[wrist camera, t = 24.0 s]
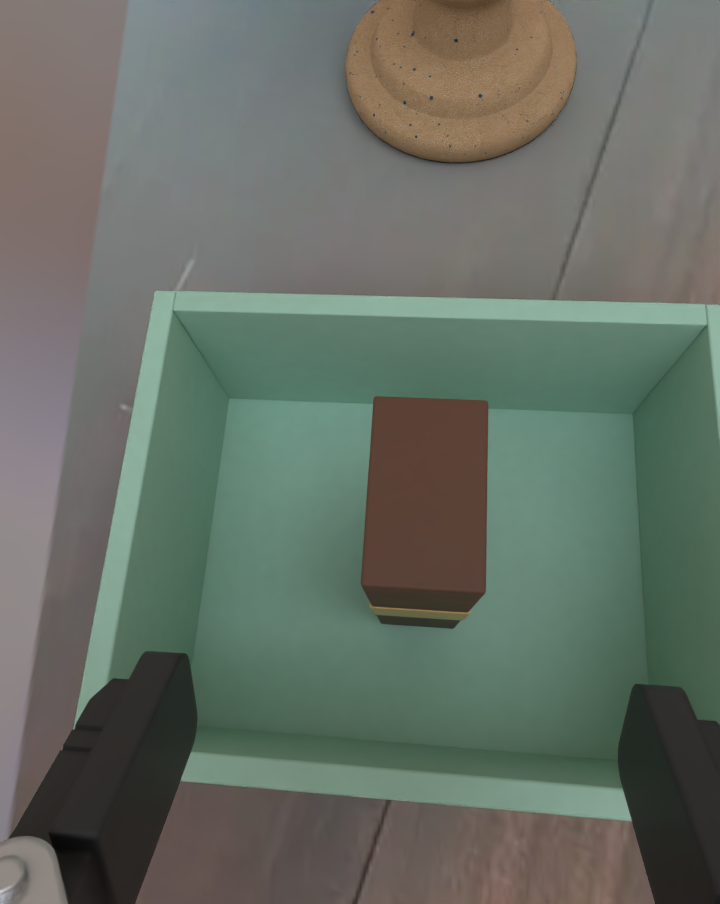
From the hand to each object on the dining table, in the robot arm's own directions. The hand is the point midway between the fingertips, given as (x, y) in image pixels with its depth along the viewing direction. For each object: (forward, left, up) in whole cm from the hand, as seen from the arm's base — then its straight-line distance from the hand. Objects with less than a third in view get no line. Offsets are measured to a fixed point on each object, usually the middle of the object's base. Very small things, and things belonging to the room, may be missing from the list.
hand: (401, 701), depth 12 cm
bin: (0, +5, -16) cm, 17 cm away
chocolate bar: (0, +5, -15) cm, 16 cm away
